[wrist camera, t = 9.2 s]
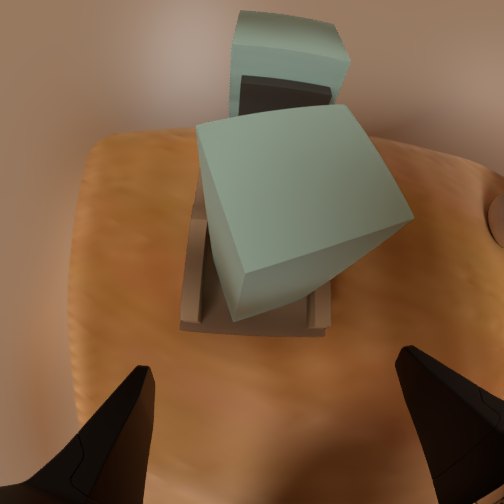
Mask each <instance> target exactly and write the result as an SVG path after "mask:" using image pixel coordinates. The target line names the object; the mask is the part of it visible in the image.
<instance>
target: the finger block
mask: <svg viewBox="0 0 504 504" xmlns="http://www.w3.org/2000/svg"><path fill="white" fill-rule="evenodd" d="M196 134H197V143H198V152H199V160H200V168H201V176H202V184H203V192H204V199H205V207H206V214H207V221H208V228H209V235H210V241H211V248H212V254H213V261H214V264H215V268H216V271H217V274H218V277H219V280H220V283H221V286H222V290H223V293H224V296H225V299H226V302H227V305H228V308H229V311H230V314H231V317H232V320H233V322H236V321H239V320H242V319H245V318H248V317H251V316H254V315H257V314H260V313H263V312H266V311H269V310H272V309H275V308H278V307H281V306H284V305H286V304H289V303H292V302H295V301H298V300H300V299H302V298H304V297H305V296H307V295H308V294H310V293H311V292H313V291H314V290H316V289H317V288H319V287H320V286H322V285H323V284H325V283H326V282H328V281H329V280H331V279H332V278H334V277H335V276H337V275H338V274H340V273H341V272H342V271H344V270H345V269H347V268H348V267H350V266H351V265H352V264H354V263H355V262H357V261H358V260H359V259H361V258H362V257H364V256H365V255H366V254H368V253H369V252H371V251H372V250H373V249H375V248H376V247H377V246H379V245H380V244H381V243H383V242H384V241H385V240H387V239H388V238H389V237H391V236H392V235H393V234H395V233H396V232H397V231H399V230H400V229H401V228H403V227H404V226H405V225H406V224H408V223H409V222H410V221H412V220H413V219H414V218H415V217H414V215H413V213H412V211H411V209H410V207H409V205H408V203H407V201H406V200H405V198H404V196H403V194H402V192H401V190H400V188H399V187H398V185H397V183H396V181H395V179H394V178H393V176H392V174H391V172H390V171H389V169H388V167H387V166H386V164H385V162H384V161H383V159H382V158H381V156H380V154H379V153H378V151H377V150H376V148H375V146H374V145H373V143H372V142H371V140H370V139H369V137H368V136H367V134H366V133H365V131H364V130H363V128H362V127H361V125H360V124H359V123H358V121H357V120H356V118H355V117H354V116H353V115H352V113H351V111H350V110H349V109H348V108H347V106H346V105H345V104H337V105H321V106H309V107H299V108H290V109H282V110H274V111H267V112H260V113H254V114H248V115H242V116H237V117H232V118H227V119H222V120H217V121H212V122H208V123H203V124H199V125H196Z"/></svg>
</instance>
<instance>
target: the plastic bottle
mask: <svg viewBox="0 0 504 504" xmlns="http://www.w3.org/2000/svg"><path fill="white" fill-rule="evenodd" d="M488 223H489V227H490V230H491V232H492V235H493V237H494V238H495V240H496V242H497V243H498V244H499V245H500V246H501V247H502V248H504V192H503V193H501V194H499V195H498V196H497V197H496V198H495V199H494V200H493V201H492V203H491V204H490V207H489V210H488Z"/></svg>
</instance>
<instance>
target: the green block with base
mask: <svg viewBox="0 0 504 504" xmlns="http://www.w3.org/2000/svg"><path fill="white" fill-rule="evenodd" d="M350 64H351V61H350V59H349V56H348V54H347V52H346V49H345V47H344V45H343V43H342V41H341V38H340V36H339V34H338V32H337V30H336V28H335V26H334V24H330V23H326V22H322V21H317V20H312V19H307V18H302V17H296V16H289V15H283V14H275V13H267V12H256V11H240V13H239V17H238V21H237V25H236V29H235V33H234V37H233V41H232V51H231V73H230V98H229V99H230V100H229V118H232V117H237V116H242V115H248V114H254V113H260V112H267V111H274V110H282V109H290V108H299V107H309V106H321V105H334V103H335V101H336V98H337V96H338V94H339V91H340V89H341V86H342V84H343V81H344V79H345V77H346V74H347V72H348V69H349V67H350ZM180 320H181V324H180V330H182V331H192V332H203V333H216V334H231V335H249V336H276V337H324V336H325V328H327V327H331V280H329V281H328V282H326V283H325V284H323V285H322V286H320V287H319V288H317V289H316V290H314V291H313V292H311V293H310V294H308V295H307V296H305V297H304V298H302V299H300V300H298V301H295V302H292V303H289V304H286V305H284V306H281V307H278V308H275V309H272V310H269V311H266V312H263V313H260V314H257V315H254V316H251V317H248V318H245V319H242V320H239V321H236V322H233V320H232V317H231V314H230V311H229V308H228V305H227V302H226V299H225V296H224V293H223V290H222V286H221V283H220V280H219V277H218V274H217V271H216V268H215V264H214V261H213V254H212V248H211V241H210V235H209V228H208V221H207V214H206V207H205V199H204V192H203V184H202V176H201V168H200V171H199V176H198V183H197V189H196V195H195V202H194V204H193V209H192V215H191V222H190V230H189V237H188V245H187V253H186V262H185V270H184V280H183V289H182V300H181V311H180Z"/></svg>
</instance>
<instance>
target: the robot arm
mask: <svg viewBox="0 0 504 504" xmlns="http://www.w3.org/2000/svg"><path fill="white" fill-rule="evenodd" d="M395 368H396V371H397V374H398V378H399V381H400V385H401V388H402V392H403V395H404V399H405V402H406V404H407V407H408V409H409V412H410V415H411V417H412V420H413V423H414V426H415V428H416V431H417V434H418V437H419V440H420V442H421V445H422V448H423V451H424V454H425V457H426V461H427V464H428V467H429V470H430V473H431V477H432V480H433V484H434V488H435V491H436V495H437V499H438V503H439V504H473V503H476V504H504V401H503V400H501V399H500V398H498V397H496V396H494V395H492V394H490V393H489V392H487V391H485V390H484V389H482V388H481V387H478V386H477V385H476V384H474V383H473V382H471V381H469V380H468V379H466V378H465V377H463V376H461V375H460V374H458V373H457V372H455V371H453V370H452V369H450V368H448V367H447V366H445V365H444V364H442V363H440V362H439V361H437V360H436V359H434V358H432V357H431V356H429V355H428V354H426V353H424V352H423V351H421V350H419V349H418V348H416V347H415V346H413V345H409V346H405V347H403V348H402V349H401V351H400V353H399V355H398V357H397V360H396V362H395ZM154 401H155V381H154V378H153V375H152V372H151V369H150V367H149V366H142V365H138V366H136V367H135V369H134V370H133V371H132V372H131V373H130V374H129V375H128V376H127V377H126V379H125V380H124V381H123V382H122V383H121V384H120V385H119V386H118V388H117V389H116V390H115V391H114V392H113V393H112V394H111V395H110V397H109V398H108V399H107V400H106V401H105V402H104V403H103V405H102V406H101V407H100V408H99V409H98V410H97V411H96V412H95V414H94V415H93V416H92V417H91V418H90V419H89V420H88V422H87V423H86V424H85V425H84V426H83V427H82V428H81V429H80V431H79V432H78V434H76V435H75V436H74V437H73V438H72V440H71V441H70V442H69V443H68V444H67V445H66V446H65V447H64V449H62V450H61V451H60V452H59V453H58V454H57V455H56V456H55V457H54V458H53V459H52V460H51V461H49V463H47V464H46V465H45V466H44V467H43V468H41V469H40V470H39V471H38V472H37V473H36V474H34V475H33V476H32V477H31V478H29V479H28V480H26V481H24V482H22V483H19V484H14V485H8V486H2V487H0V504H143V497H144V488H145V480H146V472H147V465H148V457H149V451H150V444H151V438H152V431H153V422H154Z"/></svg>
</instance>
